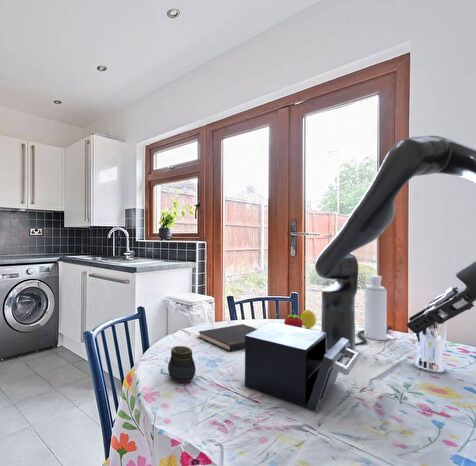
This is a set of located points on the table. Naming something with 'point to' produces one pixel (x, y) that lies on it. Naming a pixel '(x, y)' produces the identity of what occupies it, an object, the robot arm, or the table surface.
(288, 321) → the strawberry
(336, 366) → the oven door
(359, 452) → the table surface
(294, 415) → the table surface
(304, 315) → the lemon
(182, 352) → the mate gourd
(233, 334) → the hardcover book
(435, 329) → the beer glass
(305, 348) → the oven
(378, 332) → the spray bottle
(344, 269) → the robot arm
